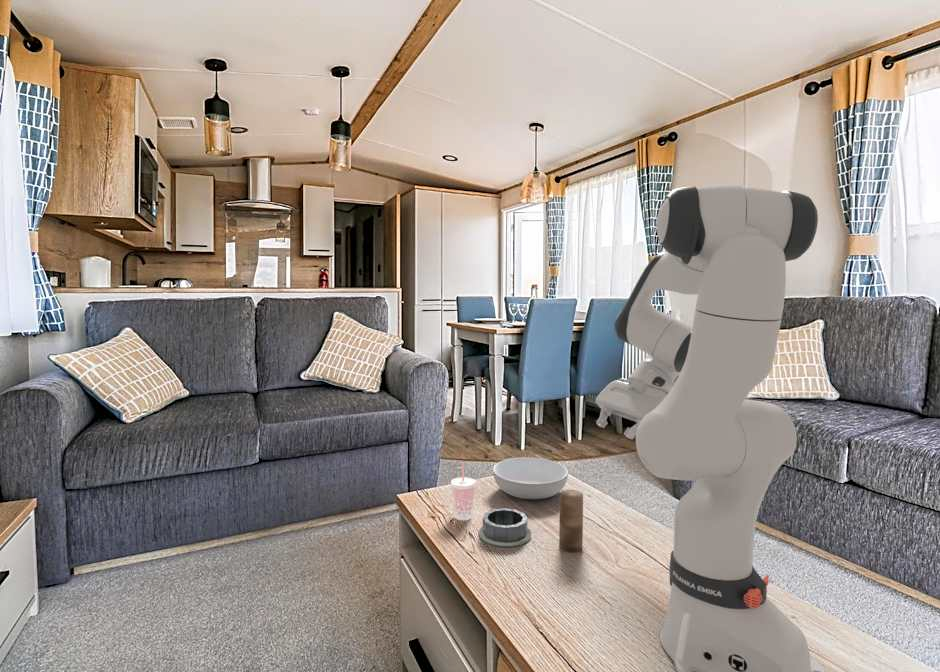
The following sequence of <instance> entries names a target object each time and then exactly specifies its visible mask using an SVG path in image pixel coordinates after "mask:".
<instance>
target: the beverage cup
mask: <svg viewBox="0 0 940 672" xmlns="http://www.w3.org/2000/svg"><path fill="white" fill-rule="evenodd" d="M461 474H462V475H461V477H456V478H453V479H451V480H450V486H451V489H452V501H453V505H452V506H453V517H454V519H456V520H457V521H468V520H471V519H472V518H473V510H474V508H473V507H474V494H475V493H474V492H475V486H476V480H475V479H473V478H471V477H466V476H465V461H462V462H461Z"/></svg>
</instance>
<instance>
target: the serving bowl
mask: <svg viewBox="0 0 940 672" xmlns="http://www.w3.org/2000/svg"><path fill="white" fill-rule="evenodd" d="M492 472H493V477H494V481H495V483H496V485H497V486H498V487H499V489H501V491H503V492H505V493H506V494H508V495H510V496H512V497H516V498H519V499H523V500H540V499H541V500H542V499H547V498H550V497H553V496H555V495H557V494H559V493H560V492H561V491H563V489H564V487H565V486H566V483H567V481H568V477H569V470H568V468H567V467H565V466H564V465H563V464H561V463H560V462H557V461H554V460H550V459H545V458H540V457H531V456H530V457H514V458H508V459H503V460H501V461H499V462H497V463H496V464H495V465H494V466H493V467H492Z"/></svg>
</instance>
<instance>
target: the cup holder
mask: <svg viewBox="0 0 940 672" xmlns="http://www.w3.org/2000/svg"><path fill="white" fill-rule="evenodd" d="M528 523H529V522H528V517H527V515H526V514H525V512H523V511H519V510H517V509H513V508H505V507H504V508H503V507H501V508H495V509H490V510H488V511H487V512H485V513H484V515H483V516H482V526H481V527H480V529H479V530H478V531H479V532H478V536H479V538H480V540H481V541H482V542H484V543H485V544H486V545H487V544H488V545H490V546H493V547H497V548H516V547H520V546H523V545H526V544H527V543H529V541H531V539H532V531H531V530H530V528H529V527H528Z"/></svg>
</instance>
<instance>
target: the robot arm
mask: <svg viewBox="0 0 940 672" xmlns="http://www.w3.org/2000/svg"><path fill="white" fill-rule="evenodd" d="M817 209H818V208H817V207H816V205H815V203H814V201H813V200H812V198H811V197H810V196H807V195H805V194H803V193H799V192H796V191H790V190H782V191H776V190H770V189H769V190H768V189H763V188H753V187H752V188H750V187H742V186H740V185H723V186H722V185H719V186H718V185H717V186H703V187H697V186H696V185H691V186H685V187H684V186H683V187H679V188H674V189H672V190H671V191H670V192H669V193H667V195H666V196H665V198H664V199H663V202H662V205H660V209H659V210H658V213H657V217H656V233H657V237H658V242H659V245H660V246H661V247H662V248H663V250H665V251H664V252H659V253H658V254H656V255H655V256H654V257H653V258H652V259H651V260H650V261H649V262H648V264H647V265H646V266H645V268H644V269H643V271H642V273H641V275H640V277H639V279H638V280H637V282H636V284H635V286H634V288H633V290H632V292H631V294H630V295H629V297H628V299H627V300H626V303H625V305H624V306H623V308H622V309H621V310H620V311H619V312H618V315H617V317H616V319H615V320H614V332H615V333H616V336H617V338H618V340H619V341H622V342H624V343H626V344H629V345H630V346H634V347H635V348H637V349H638V350H640V351H643V352H644V353H645V354H647V356H646V357H645V358H644V359H643V360H642V361H640V362H639V363H638V365H637V366H636V367H635V369H634V370H633V371H632V372H631V374H630V375H629V377H627V379H626V378H623V377H620V378H618V379H615V380H613V381H611V382H609V383H608V384H607V385H605V386H606V387H604V388H603V390H601V391H600V393H599V394H597V396H596V398H595V404H597V406H598V407H599V408H600V413H599V417H598V419H597V420H596V422H595V423H596V425H597V426H598V427H599V428H602V429H605V428H606V426H607V425H608V424H609V423H608V421H607V419H608V417H611V415H612V414H613V415H616V416H618V417H622V418H623V419H627V420H629V421H633V422H635V424H633V426H631V427H629V426H628V427H626V429H625V431H624V432H623V435H625V437H626V438H628V439H630V440H633V439H634V438H635V447H636V451H637V454H638V457H639V459H640V461H641V463H642V464H643V466H644V467H645V468H646V470H648V471H649V472H650V473H651V474H653V475H654V476H655V477H656V478H660V479H667V480H676V481H688V482H689V481H690V482H691V481H695V483H694V484H693V485H692V487H691V488H690V489H689V490H688V491H687V492H686V493H685V494H684V495H682V497H681V498H680V499H679V500H678V502H677V503H676V505H675V508H674V518H673V519H674V522H673V525H674V526H673V550H672V551H671V553H670V560H669V573H668V574H669V585H670V587H671V588H670V594H669V601H668V605H667V606H668V607H667V611H666V616H665V619H664V622H663V625H662V628H661V631H660V634H659V638H660V639H659V640H660V644H661V645H662V647H663V649H664V651H665V653H667V655H668V656H669V658H671V660H672V661H673V663H674V667H675V668H674V669H675V671H676V672H826V669H825V668H824V667H823V665H822V664H820V663H819V662H817V661H816V660H814V659H813V658H811V656H810V655H811V653H810V648H809V644H808V641H807V638H806V636H805V634H804V632H803V631H802V630H801V628H800V627H799V626H797V624H795V623H794V622H793V621H792V620H791V619H790V618H789V617H788V616H787V615H785V613H783V611H782V610H780V608H778V606H776V604H774V602H772V601H771V600H770V598H768V597H767V592H768V589H767V586H768V585H769V581H770V580H769V579H770V575H769V574H766V575H765V576H764V578H762V577H761V575H760V574H759V572H757V570H756V569H755V567H754V564H753V563H754V561H753V560H754V546H755V545H754V544H755V534H756V524H757V519H758V514H759V512H760V511H759V510H760V509H761V505H762V502H763V500H764V498H765V496H766V493H767V490H768V488H769V485H771V481H773V478H774V477H775V474H776V473H777V471H778V470H779V469H780V468H781V466H783V464H784V463H786V461H787V460H788V459H790V457H791V456H792V455H793V453H795V450H796V447H797V441H798V440H797V438H798V435H797V430H796V427H795V424H794V422H793V420H792V418H791V417H790V415H789V414H788V413H787V412H786V411H785V409H783V408H781V407H780V406H778V405H777V404H774V403H770V402H765V401H760V400H754V399H747V397H748V395H749V394H750V393H751V392H752V391H753V390H754V389H755V387H756V386H758V385H760V384H761V383H763V381H765V379H766V378H767V377H768V376H770V375H769V374H770V373H771V371H772V368H773V364H774V362H775V360H774V359H775V355H776V349H777V346H778V345H777V344H778V338H779V334H780V330H781V329H780V328H781V324H782V318H783V311H784V308H785V307H784V304H785V296H786V281H787V279H786V277H787V276H786V275H787V274H786V272H787V270H786V269H787V268H786V267H787V266H786V262H789V261H793V260H797V259H800V258H801V257H802V256H803V254H805V253H806V252H807V251H808V250H809V249H810V248H811V245H812V244H813V242H814V240H815V237H816V232H817V229H818V222H819V221H818V220H819V219H818V218H819V216H818V210H817ZM657 291H667V292H674V293H677V294H682V295H690V296H691V295H692V296H693V295H694V296H695V295H697V298H696V302H695V303H696V304H695V310H694V316H693V320H692V321H693V324H692V326H689V325H688V324H686V323H684V322H683V321H681V320H678V319H677V318H674V317H672V316H670V315H668V314H666V313H665V312H662V311H660V310H659V309H657V308H656V307H654V306H653V305H652V304H651V302H652V299H653V298H654V296H655V294H656V293H657Z"/></svg>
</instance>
